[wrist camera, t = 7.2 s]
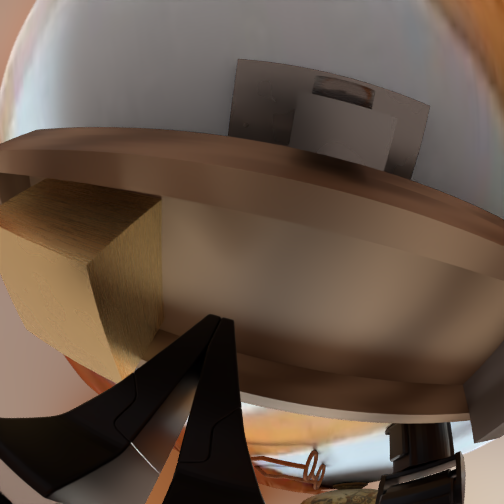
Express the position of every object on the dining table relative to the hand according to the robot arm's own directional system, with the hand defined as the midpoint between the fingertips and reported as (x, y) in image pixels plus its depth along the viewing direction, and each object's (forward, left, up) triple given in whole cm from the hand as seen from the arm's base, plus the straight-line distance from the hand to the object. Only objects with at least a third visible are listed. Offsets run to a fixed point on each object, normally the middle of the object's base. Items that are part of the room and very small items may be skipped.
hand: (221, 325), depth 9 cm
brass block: (+6, 0, -2) cm, 6 cm away
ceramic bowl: (-30, +57, -7) cm, 65 cm away
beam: (-2, 0, -3) cm, 3 cm away
